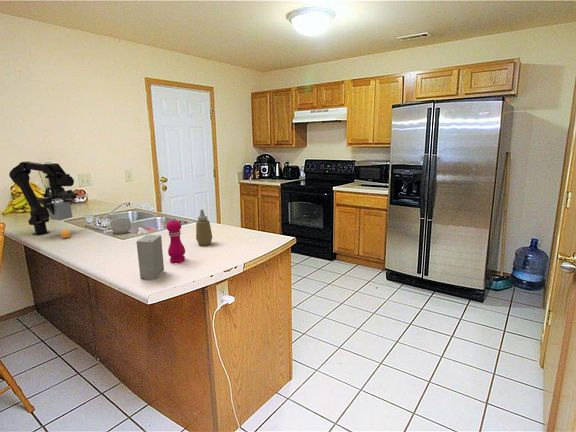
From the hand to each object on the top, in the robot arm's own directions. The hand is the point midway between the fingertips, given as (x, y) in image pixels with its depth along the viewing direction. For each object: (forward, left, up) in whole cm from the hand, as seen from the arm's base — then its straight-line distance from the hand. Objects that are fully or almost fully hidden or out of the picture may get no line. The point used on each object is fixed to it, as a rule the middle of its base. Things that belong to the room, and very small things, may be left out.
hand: (60, 213), depth 195 cm
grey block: (0, 0, -3) cm, 3 cm away
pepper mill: (+94, -10, -13) cm, 96 cm away
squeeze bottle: (+90, +14, -13) cm, 92 cm away
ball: (+8, -4, -10) cm, 14 cm away
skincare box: (+96, -26, -13) cm, 101 cm away
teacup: (+28, +17, -13) cm, 35 cm away
